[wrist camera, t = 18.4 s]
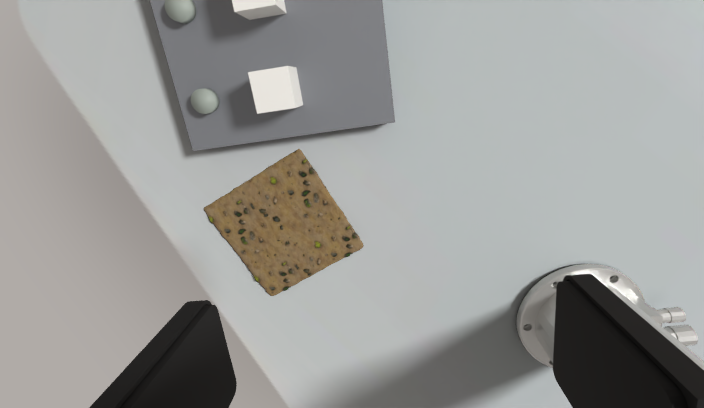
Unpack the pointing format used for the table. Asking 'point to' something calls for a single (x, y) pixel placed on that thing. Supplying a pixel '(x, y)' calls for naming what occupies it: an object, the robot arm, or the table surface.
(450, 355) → the table surface
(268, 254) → the seeded cracker
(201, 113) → the breaker panel
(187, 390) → the robot arm
